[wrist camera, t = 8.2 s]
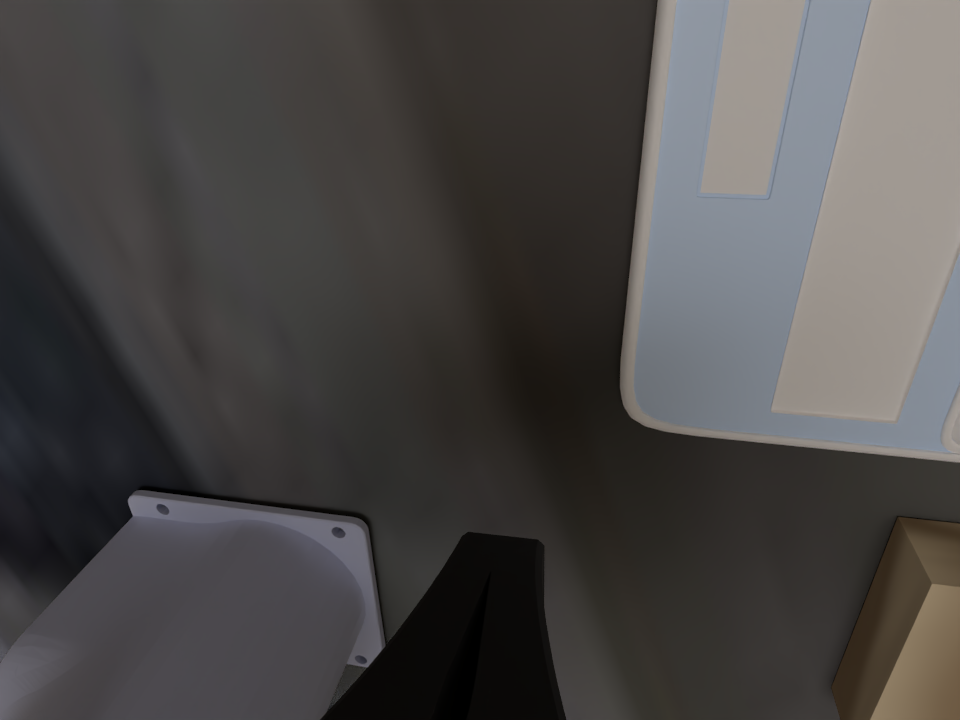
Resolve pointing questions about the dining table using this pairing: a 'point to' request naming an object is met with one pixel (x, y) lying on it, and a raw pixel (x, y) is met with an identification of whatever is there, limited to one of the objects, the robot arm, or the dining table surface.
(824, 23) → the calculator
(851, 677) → the joist ends
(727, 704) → the dining table surface
